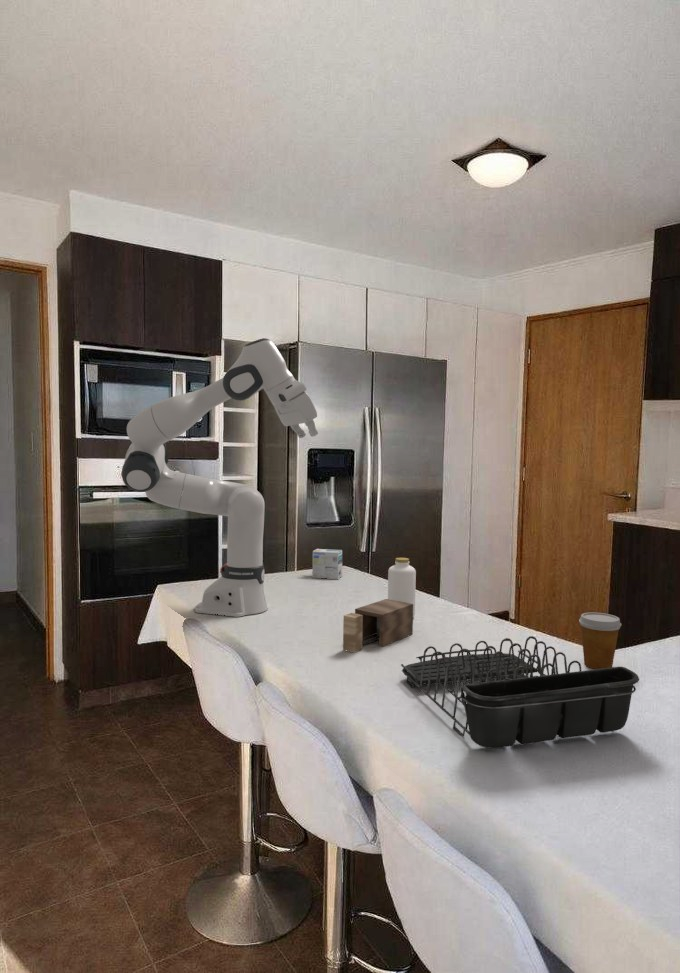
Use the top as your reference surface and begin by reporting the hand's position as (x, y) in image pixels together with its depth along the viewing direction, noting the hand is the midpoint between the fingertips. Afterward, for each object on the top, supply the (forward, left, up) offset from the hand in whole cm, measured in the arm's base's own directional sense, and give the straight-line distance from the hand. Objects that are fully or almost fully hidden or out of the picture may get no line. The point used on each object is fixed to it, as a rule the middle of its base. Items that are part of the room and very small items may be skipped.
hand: (308, 436), depth 187 cm
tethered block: (+20, -10, -55) cm, 59 cm away
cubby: (+22, -6, -55) cm, 59 cm away
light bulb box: (-5, +70, -55) cm, 89 cm away
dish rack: (+49, -48, -55) cm, 88 cm away
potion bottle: (+26, +16, -55) cm, 63 cm away
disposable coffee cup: (+75, -20, -55) cm, 95 cm away
